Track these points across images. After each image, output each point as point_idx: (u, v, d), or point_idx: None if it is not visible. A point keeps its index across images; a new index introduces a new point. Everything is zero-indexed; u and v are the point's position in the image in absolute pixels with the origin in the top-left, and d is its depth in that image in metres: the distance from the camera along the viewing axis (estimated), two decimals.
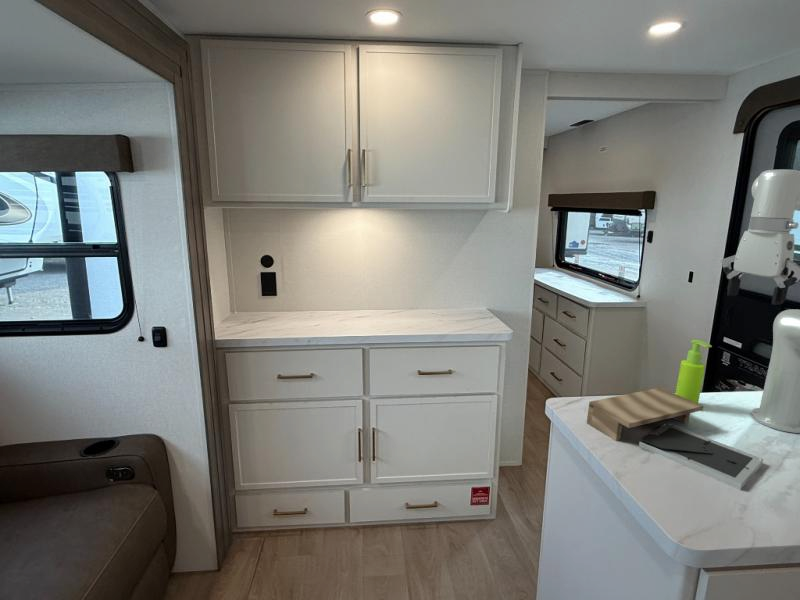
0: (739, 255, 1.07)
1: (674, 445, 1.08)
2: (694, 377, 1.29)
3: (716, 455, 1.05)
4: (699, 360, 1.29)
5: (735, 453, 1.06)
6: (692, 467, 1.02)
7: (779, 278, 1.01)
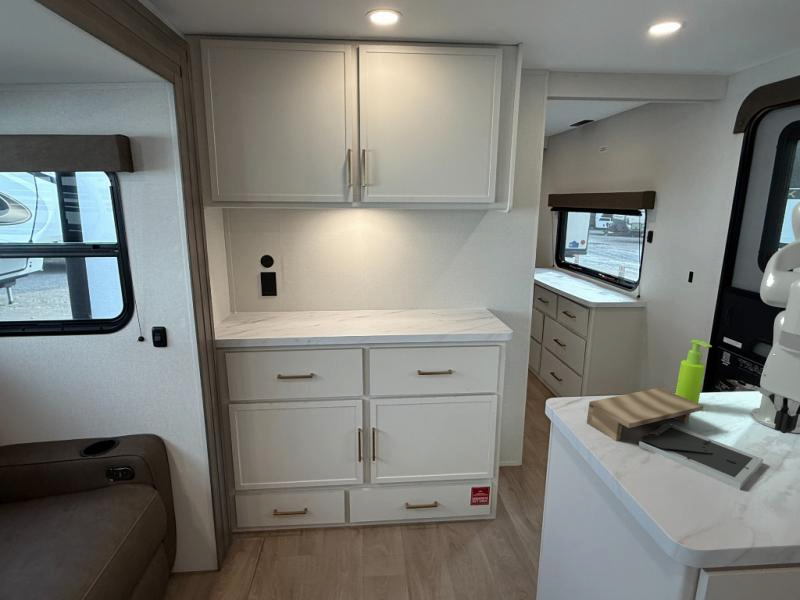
0: (767, 372, 0.91)
1: (674, 445, 1.08)
2: (694, 377, 1.29)
3: (716, 455, 1.05)
4: (699, 360, 1.29)
5: (735, 453, 1.06)
6: (692, 467, 1.02)
7: (796, 407, 0.88)
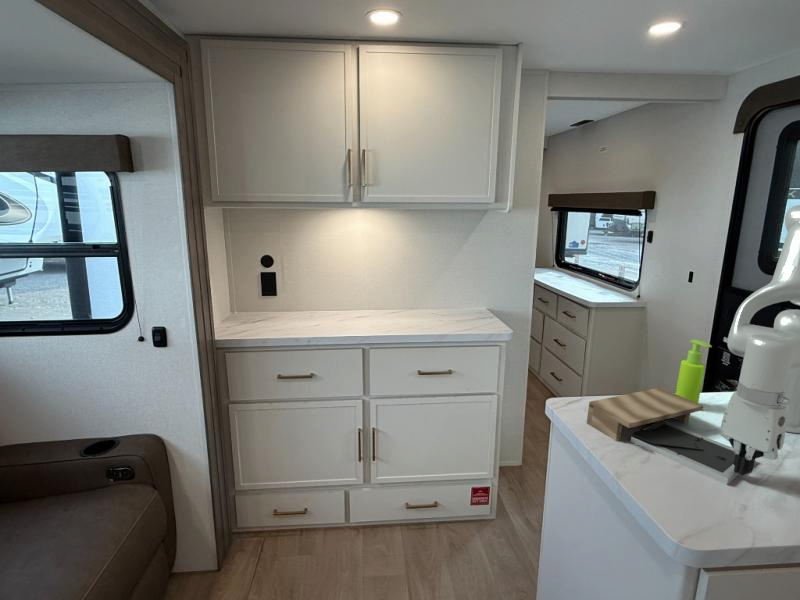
0: (727, 418, 0.99)
1: (665, 441, 1.10)
2: (694, 377, 1.29)
3: (706, 451, 1.07)
4: (699, 360, 1.29)
5: (726, 450, 1.07)
6: (681, 462, 1.03)
7: (752, 452, 0.95)
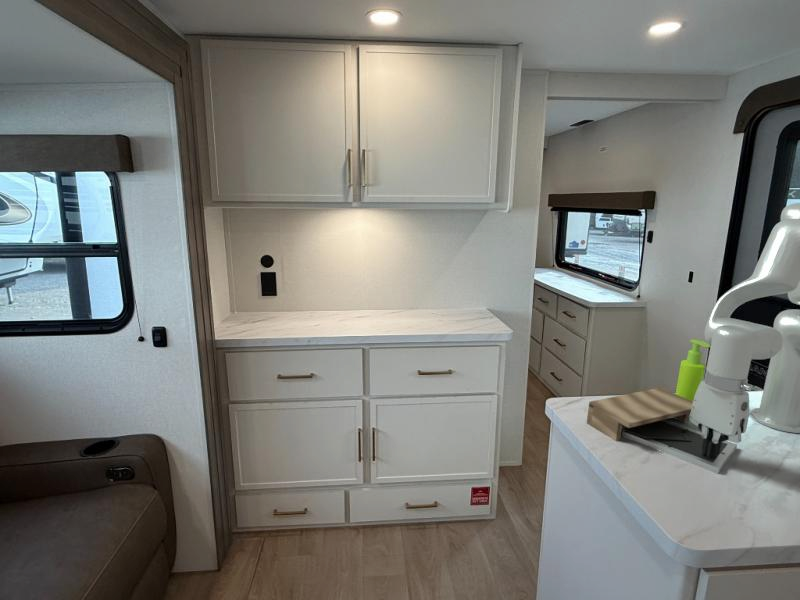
0: (696, 404, 1.05)
1: (655, 434, 1.13)
2: (694, 377, 1.29)
3: (694, 442, 1.11)
4: (699, 360, 1.29)
5: None
6: (673, 454, 1.07)
7: (718, 436, 1.02)
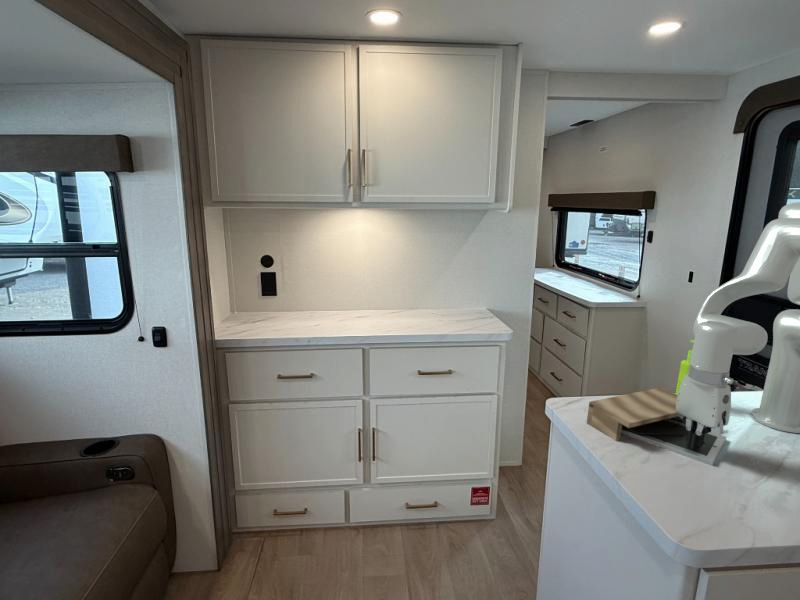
0: (680, 398, 1.08)
1: (649, 430, 1.16)
2: None
3: (686, 436, 1.14)
4: None
5: None
6: (668, 449, 1.09)
7: (701, 428, 1.05)
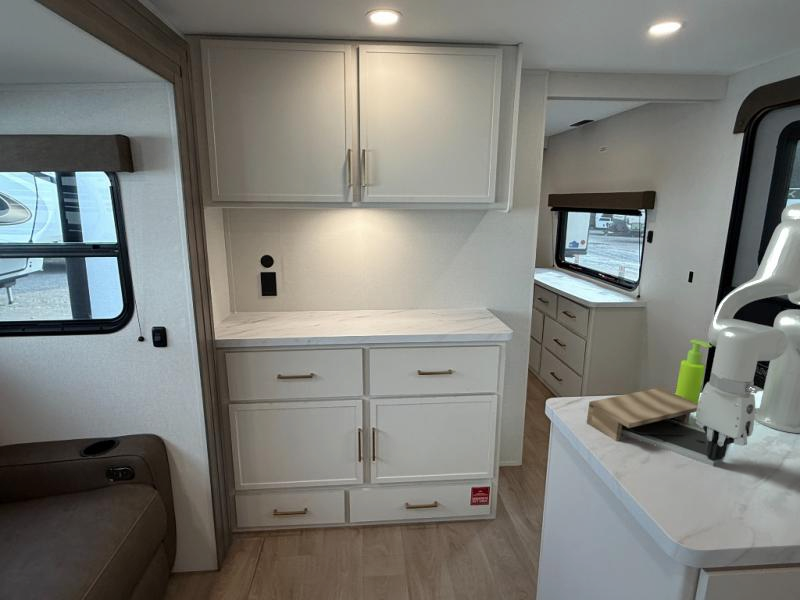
0: (701, 407, 1.04)
1: (649, 429, 1.15)
2: (694, 377, 1.29)
3: (686, 436, 1.14)
4: (699, 360, 1.29)
5: (702, 433, 1.15)
6: (668, 449, 1.09)
7: (724, 439, 1.01)
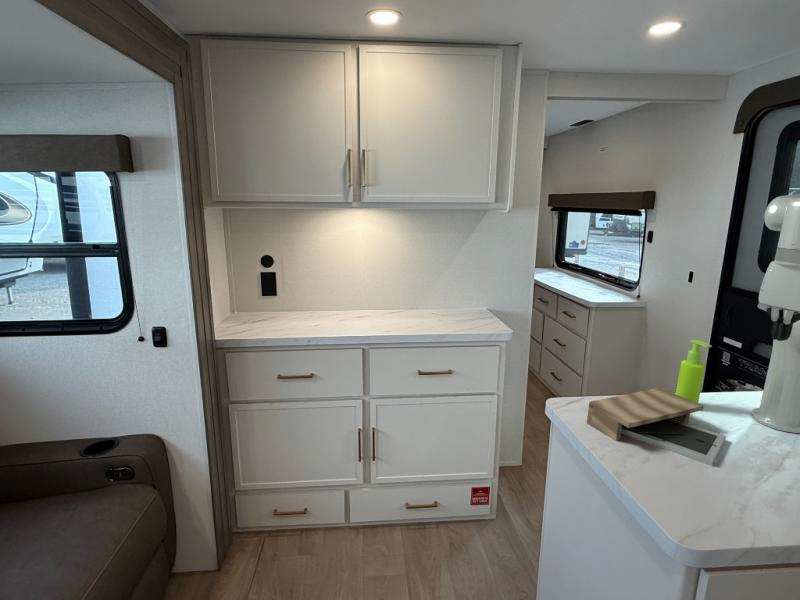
0: (765, 287, 1.01)
1: (649, 428, 1.15)
2: (694, 377, 1.29)
3: (686, 435, 1.14)
4: (699, 360, 1.29)
5: (702, 433, 1.15)
6: (668, 448, 1.09)
7: (791, 315, 0.98)
